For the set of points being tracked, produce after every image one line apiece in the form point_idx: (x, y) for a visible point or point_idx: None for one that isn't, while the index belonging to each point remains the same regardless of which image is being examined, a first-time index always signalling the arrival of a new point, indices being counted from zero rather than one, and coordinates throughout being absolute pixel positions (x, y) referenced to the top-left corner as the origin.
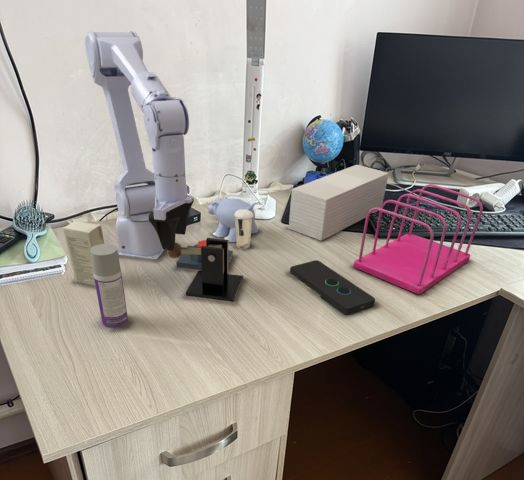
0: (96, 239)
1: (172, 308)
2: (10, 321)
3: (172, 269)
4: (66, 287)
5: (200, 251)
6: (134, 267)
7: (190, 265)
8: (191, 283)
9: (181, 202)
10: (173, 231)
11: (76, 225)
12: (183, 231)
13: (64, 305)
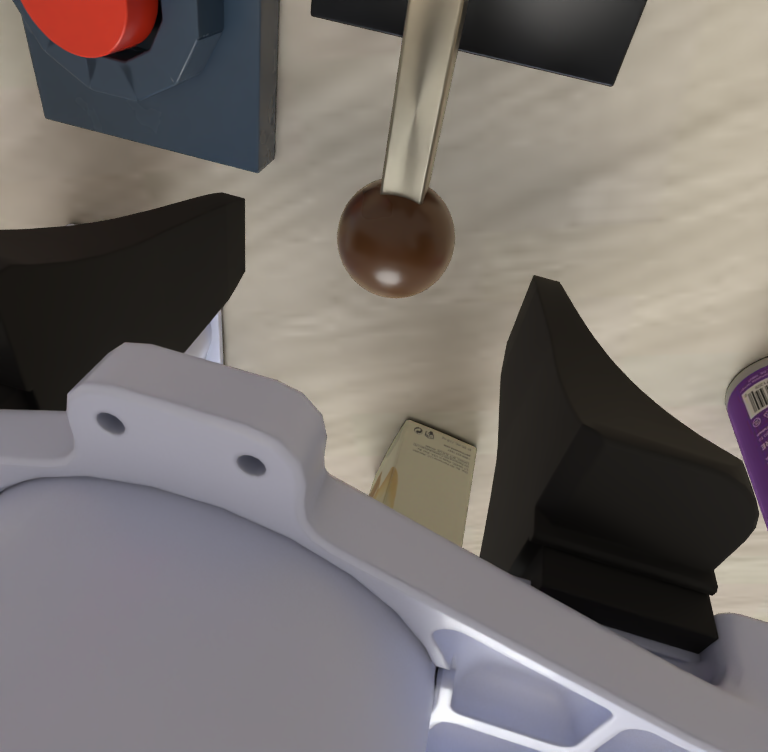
0: None
1: (723, 153)
2: None
3: (283, 182)
4: (470, 521)
5: (463, 6)
6: (299, 345)
7: (263, 81)
8: (491, 54)
9: (390, 548)
10: (646, 396)
11: None
12: (232, 215)
13: None
